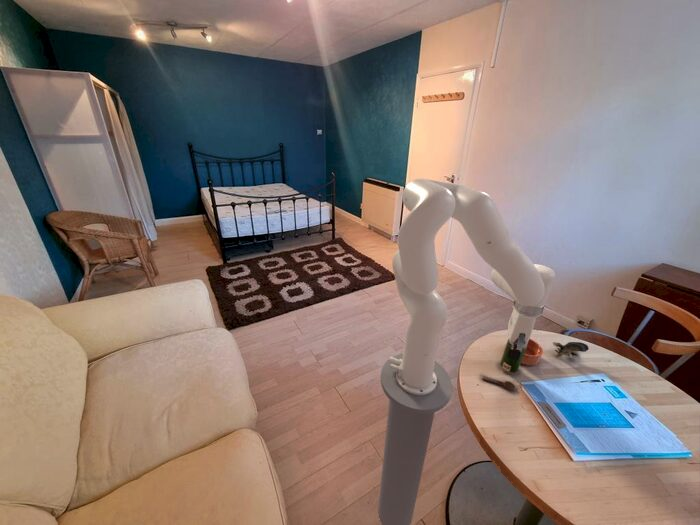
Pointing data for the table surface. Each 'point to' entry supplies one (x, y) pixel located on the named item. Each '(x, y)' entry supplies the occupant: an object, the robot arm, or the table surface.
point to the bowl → (532, 353)
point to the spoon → (501, 383)
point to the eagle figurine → (570, 348)
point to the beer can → (510, 364)
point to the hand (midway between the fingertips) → (512, 351)
